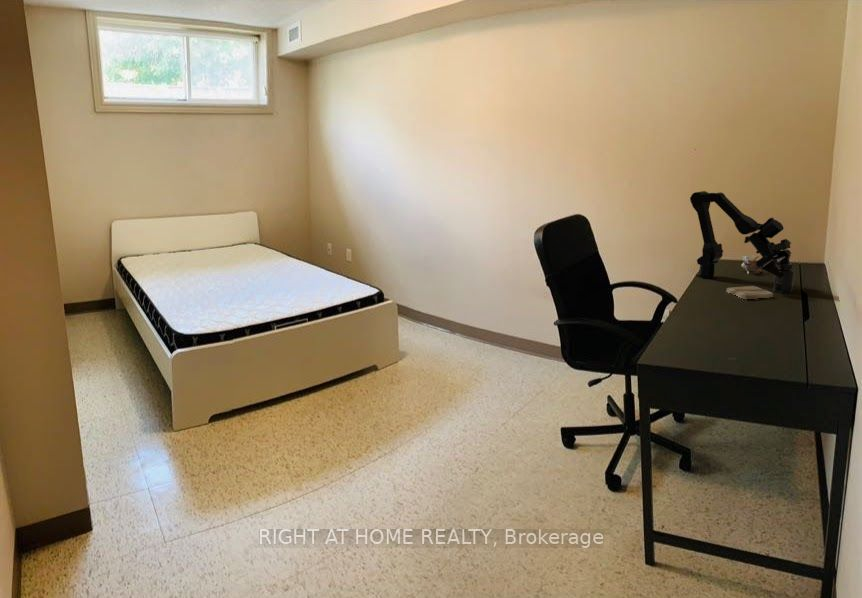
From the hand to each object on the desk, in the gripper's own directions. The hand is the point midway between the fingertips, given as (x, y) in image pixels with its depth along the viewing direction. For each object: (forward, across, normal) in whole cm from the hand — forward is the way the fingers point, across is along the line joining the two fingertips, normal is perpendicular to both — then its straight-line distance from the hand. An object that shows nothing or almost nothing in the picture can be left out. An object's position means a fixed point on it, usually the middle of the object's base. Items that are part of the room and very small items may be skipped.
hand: (786, 275), depth 245 cm
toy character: (-12, +22, +22) cm, 34 cm away
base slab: (0, -15, +10) cm, 18 cm away
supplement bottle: (+5, 0, +6) cm, 8 cm away
